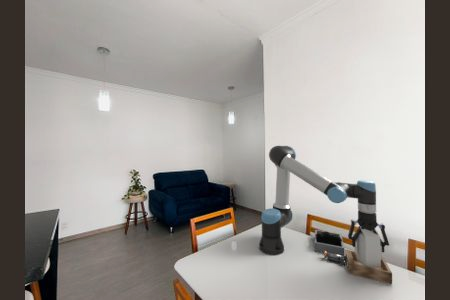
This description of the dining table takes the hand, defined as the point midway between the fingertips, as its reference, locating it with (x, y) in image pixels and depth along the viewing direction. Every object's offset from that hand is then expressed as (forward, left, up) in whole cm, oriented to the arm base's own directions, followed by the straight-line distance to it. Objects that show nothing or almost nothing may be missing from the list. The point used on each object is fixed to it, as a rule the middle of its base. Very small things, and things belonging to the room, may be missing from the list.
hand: (367, 255), depth 95 cm
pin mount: (-14, +2, -7) cm, 16 cm away
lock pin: (-15, +2, -7) cm, 16 cm away
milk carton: (0, 0, -4) cm, 4 cm away
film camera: (-18, +19, -7) cm, 27 cm away
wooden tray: (0, 0, -7) cm, 7 cm away
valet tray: (-17, +19, -7) cm, 27 cm away
